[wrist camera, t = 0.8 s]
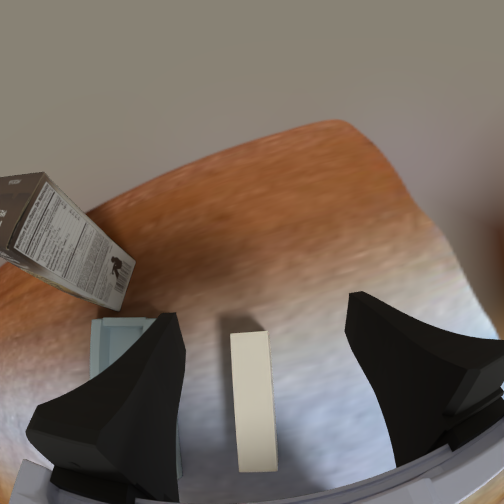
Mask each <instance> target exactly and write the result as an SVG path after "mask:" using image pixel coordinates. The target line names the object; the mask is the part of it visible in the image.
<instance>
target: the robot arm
mask: <svg viewBox="0 0 504 504" xmlns="http://www.w3.org/2000/svg"><path fill="white" fill-rule="evenodd" d="M345 334H346V337H347V339H348V342H349V345H350V347H351V350H352V352H353V354H354V355H355V357H356V359H357V361H358V363H359V365H360V366H361V368H362V370H363V372H364V374H365V375H366V377H367V379H368V381H369V383H370V384H371V386H372V388H373V390H374V392H375V395H376V397H377V400H378V402H379V405H380V408H381V410H382V413H383V416H384V419H385V423H386V426H387V429H388V433H389V436H390V440H391V444H392V448H393V453H394V458H395V463H396V468H395V469H393V470H390V471H388V472H385V473H383V474H380V475H377V476H374V477H372V478H369V479H366V480H363V481H359V482H356V483H353V484H350V485H346V486H343V487H339V488H335V489H331V490H327V491H323V492H319V493H314V494H309V495H304V496H299V497H293V498H287V499H280V500H272V501H264V502H253V503H239V504H458V503H460V502H461V501H463V500H464V499H466V498H467V497H469V496H470V495H471V494H473V493H474V492H476V491H477V490H478V489H480V488H481V487H482V486H484V485H485V484H486V483H487V482H489V481H490V480H491V479H492V478H494V477H495V476H496V475H497V474H498V473H499V472H501V471H502V470H503V469H504V400H503V398H502V397H501V396H502V395H503V394H504V391H503V390H502V388H501V385H502V383H503V382H504V340H495V339H482V338H476V337H470V336H465V335H460V334H457V333H453V332H449V331H446V330H443V329H440V328H437V327H434V326H432V325H429V324H426V323H424V322H422V321H419V320H417V319H415V318H413V317H411V316H409V315H407V314H405V313H403V312H401V311H399V310H397V309H395V308H393V307H391V306H390V305H388V304H386V303H384V302H382V301H381V300H379V299H377V298H375V297H373V296H371V295H369V294H367V293H365V292H363V291H360V292H354V293H349V301H348V309H347V317H346V324H345ZM185 358H186V349H185V345H184V342H183V338H182V334H181V331H180V327H179V323H178V319H177V315H176V312H174V313H161V314H160V315H159V317H158V318H157V319H156V320H155V321H154V322H153V323H152V324H151V325H150V327H149V328H148V329H147V330H146V331H145V332H144V333H143V334H142V335H141V337H140V338H139V339H138V340H137V341H136V342H135V343H134V344H133V345H132V346H131V347H130V348H129V349H128V350H127V351H126V352H125V353H124V354H123V355H122V356H121V357H119V358H118V359H117V360H116V361H115V362H114V363H113V364H111V365H110V366H109V367H108V368H106V369H105V370H104V371H102V372H101V373H100V374H98V375H97V376H95V377H94V378H92V379H91V380H89V381H88V382H86V383H85V384H83V385H81V386H80V387H78V388H76V389H74V390H72V391H70V392H68V393H66V394H64V395H62V396H60V397H58V398H55V399H53V400H50V401H48V402H45V403H43V404H40V405H38V406H37V408H36V410H35V412H34V414H33V416H32V418H31V420H30V423H29V425H28V427H27V429H26V431H25V432H26V436H27V438H28V440H29V441H30V443H31V444H32V445H33V446H34V447H35V448H36V449H37V450H38V451H39V452H40V453H41V454H42V455H43V456H44V457H46V458H47V459H48V460H49V461H50V462H51V463H52V464H54V468H53V471H51V470H49V469H47V468H46V467H43V466H41V465H38V464H36V463H34V462H31V461H29V460H27V459H23V461H22V464H21V467H20V470H19V472H18V475H17V478H16V481H15V484H14V488H13V491H12V494H11V498H10V501H9V504H186V503H179V494H178V484H177V468H176V424H177V414H178V408H179V402H180V396H181V390H182V385H183V379H184V373H185Z"/></svg>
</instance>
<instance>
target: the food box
mask: <svg viewBox="0 0 504 504" xmlns="http://www.w3.org/2000/svg"><path fill="white" fill-rule="evenodd" d="M0 257H2V258H4V259H5V260H7V261H8V262H10V263H12V264H13V265H15V266H17V267H18V268H20V269H22V270H24V271H25V272H27V273H29V274H31V275H33V276H34V277H36V278H38V279H40V280H42V281H43V282H45V283H47V284H49V285H51V286H53V287H55V288H57V289H59V290H61V291H63V292H65V293H68V294H70V295H72V296H75V297H77V298H80V299H83V300H86V301H88V302H91V303H94V304H97V305H100V306H103V307H106V308H109V309H112V310H115V311H118V312H119V311H120V309H121V306H122V302H123V299H124V296H125V293H126V290H127V287H128V284H129V281H130V278H131V275H132V272H133V269H134V266H135V263H136V261H135V260H134V259H133V258H132V257H131V256H130V255H129V254H127V253H126V252H125V251H124V250H123V249H122V248H121V247H120V246H118V245H117V244H116V243H115V242H114V241H113V240H112V239H111V238H110V237H109V236H108V235H106V234H105V233H104V232H103V231H102V230H101V229H100V228H99V227H98V226H97V225H96V224H95V223H94V222H93V221H92V220H91V219H90V218H89V217H88V216H87V215H86V214H85V213H84V212H83V211H82V210H81V209H80V208H78V207H77V205H76V204H75V203H74V202H72V200H71V199H69V198H68V196H67V195H65V193H63V191H62V190H61V189H60V188H59V187H58V186H57V185H56V184H55V183H54V182H53V181H52V180H51V179H50V178H49V177H48V175H47V174H46V173H45V172H39V173H30V174H22V175H14V176H8V177H1V178H0Z"/></svg>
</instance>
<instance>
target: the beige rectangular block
mask: <svg viewBox="0 0 504 504" xmlns="http://www.w3.org/2000/svg"><path fill="white" fill-rule="evenodd" d="M230 339H231V359H232V377H233V394H234V409H235V424H236V438H237V451H238V463H239V472H274V471H277V469H278V446H277V430H276V415H275V401H274V387H273V373H272V359H271V346H270V335H269V333H268V331H259V332H247V333H232V334H230Z"/></svg>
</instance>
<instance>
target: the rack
mask: <svg viewBox="0 0 504 504" xmlns="http://www.w3.org/2000/svg"><path fill="white" fill-rule="evenodd" d="M156 319H157V318H146V317H137V318H103V319H97V320H92V326H91V343H90V380H91V379H92V378H94V377H95V376H97V375H98V374H100V373H101V372H102V371H104V370H105V369H106V368H108V367H109V366H110V365H111V364H113V363H114V362H115V361H116V360H117V359H118V358H119V357H121V356H122V355H123V354H124V353H125V352H126V351H127V350H128V349H129V348H130V347H131V346H132V345H133V344H134V343H135V342H136V341H137V340H138V339H139V338H140V337H141V335H142V334H143V333H144V332H145V331H146V330H147V329H148V328H149V327H150V325H151V324H152V323H153V322H154V321H155V320H156ZM176 468H177V479H179V478H181V477H182V476H183V475H182V466H181V456H180V446H179V434H178V420H177V424H176Z"/></svg>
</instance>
